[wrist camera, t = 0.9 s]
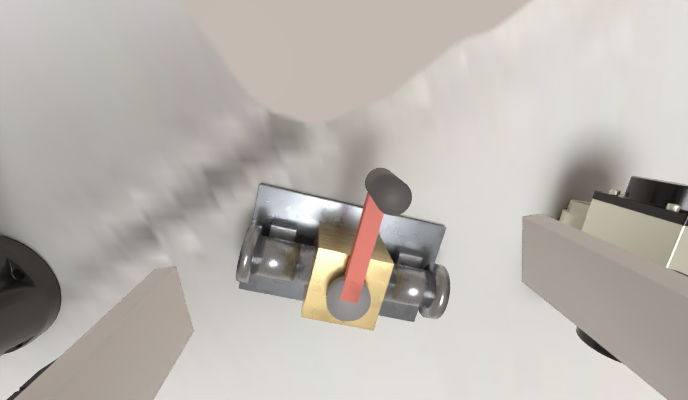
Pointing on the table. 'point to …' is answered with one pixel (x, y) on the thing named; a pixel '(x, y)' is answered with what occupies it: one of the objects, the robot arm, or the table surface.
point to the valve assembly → (340, 257)
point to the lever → (366, 244)
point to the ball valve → (637, 225)
